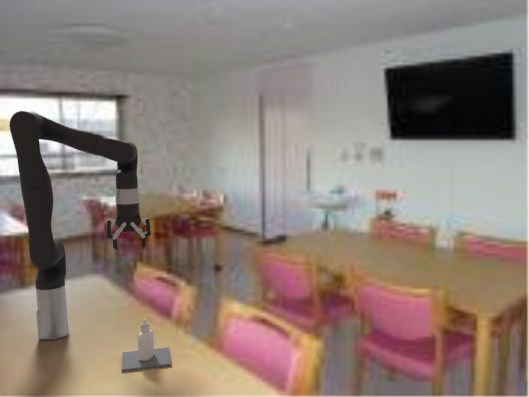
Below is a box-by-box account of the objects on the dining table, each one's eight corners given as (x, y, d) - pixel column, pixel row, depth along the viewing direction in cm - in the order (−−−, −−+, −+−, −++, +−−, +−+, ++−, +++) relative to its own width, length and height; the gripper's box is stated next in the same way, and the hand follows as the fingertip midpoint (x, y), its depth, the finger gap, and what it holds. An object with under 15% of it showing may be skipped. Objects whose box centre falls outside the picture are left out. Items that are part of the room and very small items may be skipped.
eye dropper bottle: (134, 358, 160) (132, 319, 159) (151, 352, 164) (149, 315, 162) (141, 362, 157) (139, 323, 155) (158, 357, 160) (156, 319, 159)
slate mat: (121, 372, 153) (121, 369, 153) (122, 354, 165) (122, 352, 164) (171, 366, 156) (171, 363, 156) (168, 349, 168) (168, 347, 168)
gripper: (149, 199, 183) (151, 245, 185) (106, 200, 180) (108, 247, 182) (149, 202, 176) (151, 250, 178) (104, 204, 173) (107, 253, 175)
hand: (129, 249), depth 180 cm, fingers open, 8 cm apart
